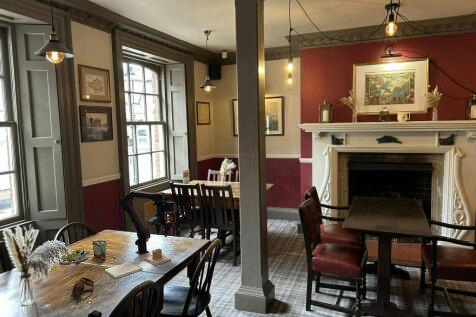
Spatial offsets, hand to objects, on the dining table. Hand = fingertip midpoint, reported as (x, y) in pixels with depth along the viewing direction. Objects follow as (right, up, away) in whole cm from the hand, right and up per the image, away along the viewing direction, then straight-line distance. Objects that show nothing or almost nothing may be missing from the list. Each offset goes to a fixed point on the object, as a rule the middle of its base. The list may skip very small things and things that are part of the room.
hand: (161, 235), depth 222 cm
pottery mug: (-28, -18, -51) cm, 61 cm away
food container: (-38, -14, -2) cm, 40 cm away
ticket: (-17, -15, -25) cm, 33 cm away
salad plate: (-55, -14, -3) cm, 57 cm away
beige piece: (-1, -13, -10) cm, 16 cm away
